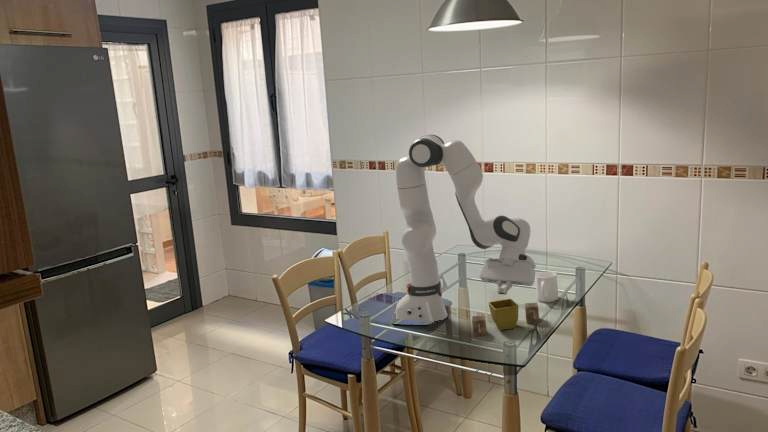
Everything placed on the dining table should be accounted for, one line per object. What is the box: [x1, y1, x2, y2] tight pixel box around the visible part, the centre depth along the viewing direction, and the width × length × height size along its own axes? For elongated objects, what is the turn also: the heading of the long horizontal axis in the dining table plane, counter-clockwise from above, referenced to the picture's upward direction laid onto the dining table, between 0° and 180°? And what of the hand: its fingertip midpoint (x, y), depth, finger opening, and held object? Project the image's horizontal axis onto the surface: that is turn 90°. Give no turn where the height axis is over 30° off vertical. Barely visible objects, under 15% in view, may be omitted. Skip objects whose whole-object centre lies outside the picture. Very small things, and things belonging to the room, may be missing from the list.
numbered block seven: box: [524, 302, 540, 324], centre depth 213 cm, size 4×5×6 cm
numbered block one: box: [471, 315, 488, 338], centre depth 207 cm, size 4×5×6 cm
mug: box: [534, 271, 559, 303], centre depth 231 cm, size 12×8×10 cm
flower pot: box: [488, 298, 519, 331], centre depth 210 cm, size 9×9×9 cm
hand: (501, 293), depth 209 cm, fingers closed
